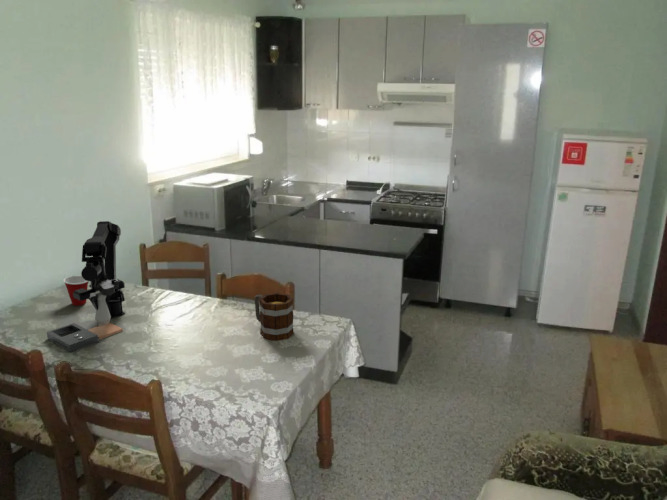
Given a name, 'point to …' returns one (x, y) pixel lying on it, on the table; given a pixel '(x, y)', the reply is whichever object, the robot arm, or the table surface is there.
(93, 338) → the grey rectangular device
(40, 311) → the table surface
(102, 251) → the robot arm
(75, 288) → the plastic cup
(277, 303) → the mug
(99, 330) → the terracotta coaster
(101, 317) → the salt shaker
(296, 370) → the table surface
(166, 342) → the table surface
